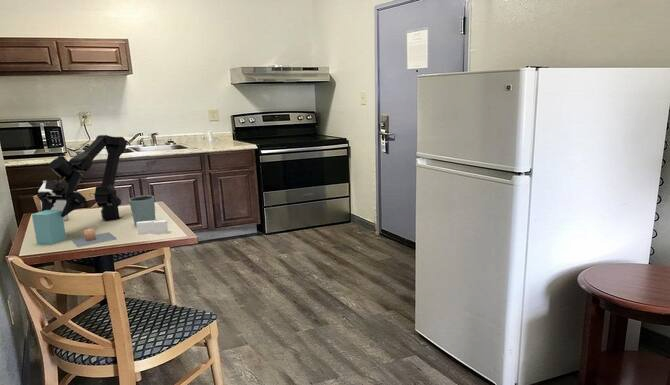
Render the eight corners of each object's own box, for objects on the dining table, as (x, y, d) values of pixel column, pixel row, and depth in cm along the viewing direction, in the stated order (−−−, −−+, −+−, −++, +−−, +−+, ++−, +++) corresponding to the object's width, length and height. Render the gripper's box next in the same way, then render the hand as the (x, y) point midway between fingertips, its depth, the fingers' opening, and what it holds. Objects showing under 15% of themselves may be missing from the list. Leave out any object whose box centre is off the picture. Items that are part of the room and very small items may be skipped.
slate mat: (109, 232, 191) (108, 232, 191) (117, 239, 181) (117, 238, 181) (70, 240, 183) (70, 239, 183) (77, 248, 173) (77, 247, 173)
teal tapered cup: (161, 221, 206) (158, 195, 204) (151, 227, 197) (148, 200, 194) (138, 221, 207) (135, 195, 204) (128, 228, 197) (124, 200, 194)
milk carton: (57, 223, 209) (50, 182, 205) (43, 223, 211) (36, 182, 207) (68, 219, 216) (62, 179, 212) (55, 219, 218) (49, 179, 214)
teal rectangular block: (51, 238, 186) (46, 209, 183) (66, 239, 184) (61, 210, 182) (37, 244, 179) (31, 214, 177) (52, 245, 178) (47, 214, 175)
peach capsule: (94, 237, 185) (93, 227, 184) (96, 239, 182) (95, 229, 181) (84, 239, 182) (83, 229, 182) (86, 241, 180) (85, 231, 179)
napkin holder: (129, 236, 187) (127, 222, 186) (152, 229, 196) (150, 216, 195) (155, 240, 180) (154, 226, 179) (177, 232, 190) (176, 219, 188)
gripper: (36, 172, 185) (17, 205, 177) (76, 172, 181) (58, 206, 173) (55, 187, 195) (37, 219, 186) (93, 188, 190) (77, 221, 182)
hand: (52, 216), depth 182 cm, fingers open, 9 cm apart
